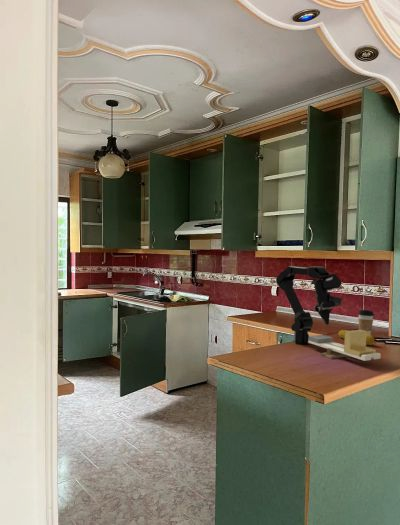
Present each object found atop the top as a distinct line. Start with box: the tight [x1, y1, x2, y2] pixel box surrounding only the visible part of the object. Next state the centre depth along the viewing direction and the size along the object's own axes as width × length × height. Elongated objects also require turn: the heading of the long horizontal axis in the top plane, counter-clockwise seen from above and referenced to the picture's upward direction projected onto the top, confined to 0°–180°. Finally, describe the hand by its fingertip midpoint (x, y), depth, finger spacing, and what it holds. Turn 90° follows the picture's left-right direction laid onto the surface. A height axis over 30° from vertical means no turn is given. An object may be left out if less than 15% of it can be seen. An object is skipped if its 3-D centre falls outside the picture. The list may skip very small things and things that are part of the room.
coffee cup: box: [357, 309, 375, 336], centre depth 219 cm, size 8×8×15 cm
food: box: [337, 329, 375, 346], centre depth 204 cm, size 21×6×6 cm, turn 32°
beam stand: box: [320, 348, 349, 360], centre depth 174 cm, size 6×16×4 cm, turn 118°
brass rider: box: [343, 329, 377, 357], centre depth 164 cm, size 8×10×10 cm
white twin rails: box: [308, 334, 382, 362], centre depth 173 cm, size 32×10×3 cm, turn 28°
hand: (327, 324), depth 181 cm, fingers closed
